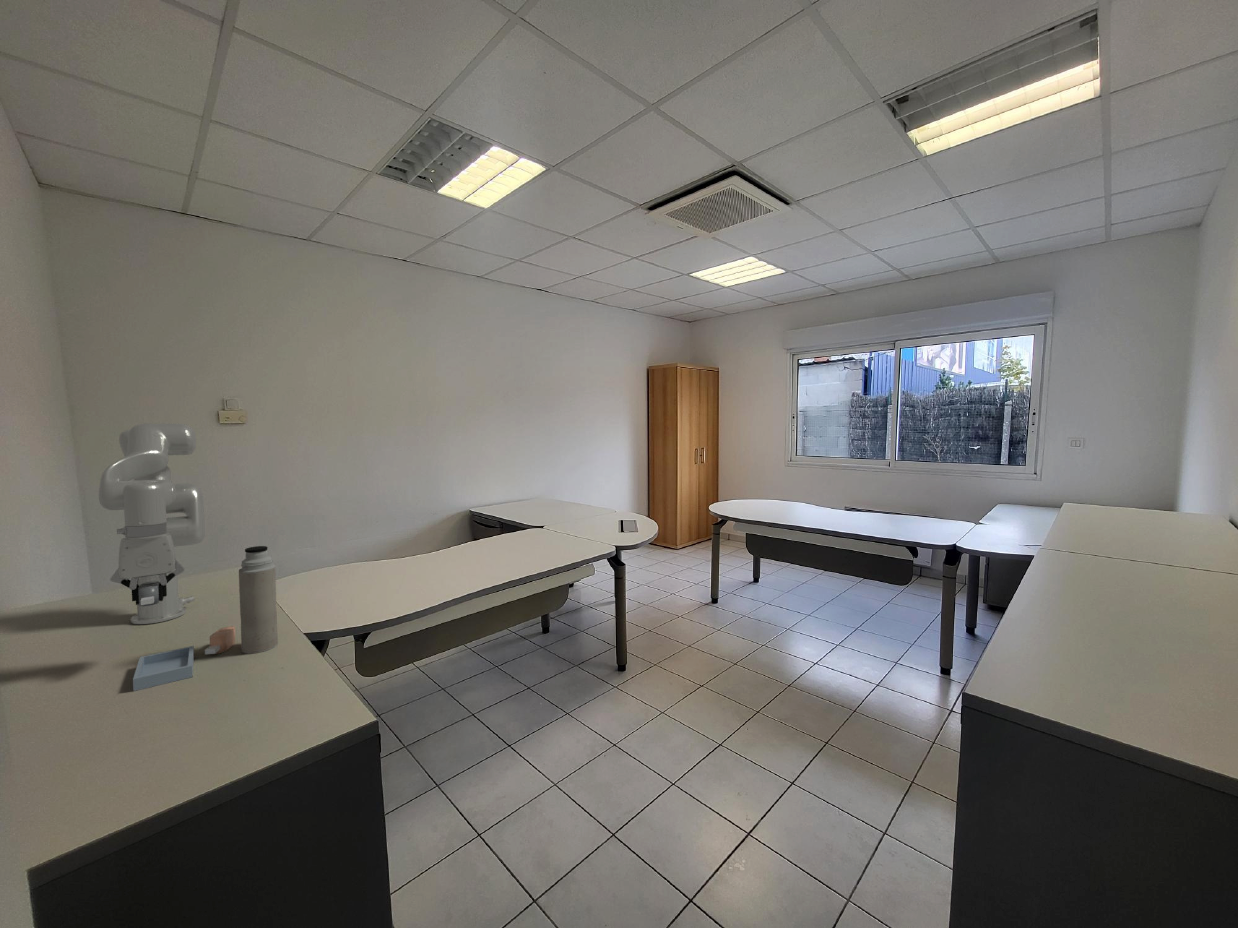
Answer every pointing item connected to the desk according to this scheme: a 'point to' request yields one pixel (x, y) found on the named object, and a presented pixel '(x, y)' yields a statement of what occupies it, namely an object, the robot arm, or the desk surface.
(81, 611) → the desk surface
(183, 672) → the tray
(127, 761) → the desk surface
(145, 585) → the graphite plug
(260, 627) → the thermos bottle
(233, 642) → the terracotta plug
